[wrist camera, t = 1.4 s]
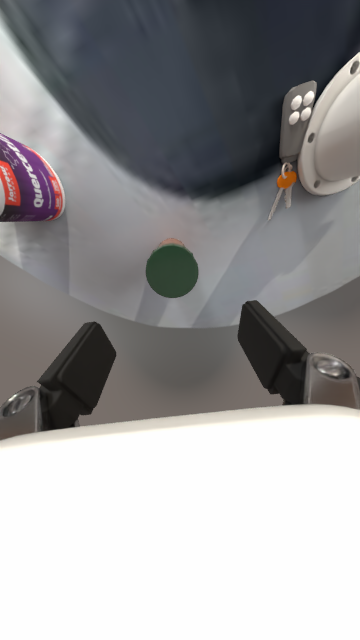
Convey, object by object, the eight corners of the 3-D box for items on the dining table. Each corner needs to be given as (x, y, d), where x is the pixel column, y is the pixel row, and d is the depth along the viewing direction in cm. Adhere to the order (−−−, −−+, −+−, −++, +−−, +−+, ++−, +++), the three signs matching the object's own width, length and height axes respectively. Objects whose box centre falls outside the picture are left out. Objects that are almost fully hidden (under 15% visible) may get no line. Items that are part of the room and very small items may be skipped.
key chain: (280, 95, 18) (288, 87, 16) (312, 84, 17) (322, 74, 16) (266, 220, 25) (271, 220, 24) (288, 214, 25) (294, 214, 24)
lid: (195, 239, 18) (197, 240, 16) (197, 289, 22) (199, 294, 20) (141, 247, 18) (138, 249, 17) (153, 296, 22) (152, 301, 21)
